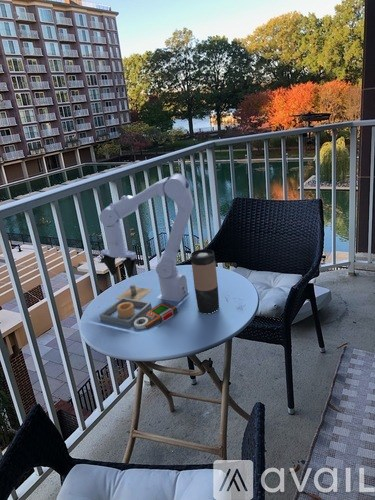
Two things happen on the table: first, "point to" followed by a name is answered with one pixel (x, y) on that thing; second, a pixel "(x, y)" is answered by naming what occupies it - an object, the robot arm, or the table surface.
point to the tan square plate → (134, 293)
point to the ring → (125, 310)
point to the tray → (129, 323)
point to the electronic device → (155, 315)
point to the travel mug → (205, 280)
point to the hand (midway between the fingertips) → (122, 275)
